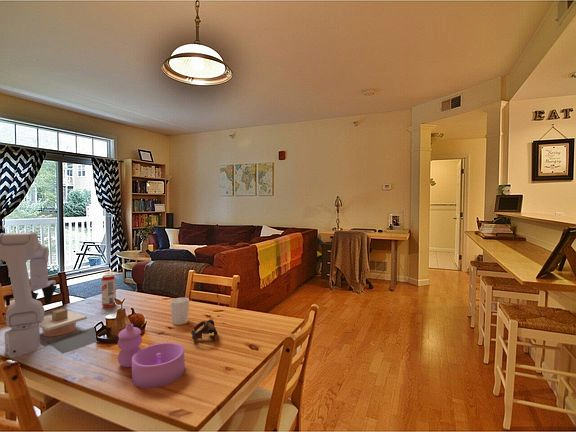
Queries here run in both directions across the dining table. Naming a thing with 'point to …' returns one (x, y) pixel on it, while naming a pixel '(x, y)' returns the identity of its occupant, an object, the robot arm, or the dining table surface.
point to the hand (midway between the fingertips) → (40, 306)
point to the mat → (74, 340)
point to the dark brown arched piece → (204, 330)
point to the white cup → (179, 310)
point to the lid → (60, 319)
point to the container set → (150, 359)
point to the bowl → (60, 330)
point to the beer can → (108, 291)
